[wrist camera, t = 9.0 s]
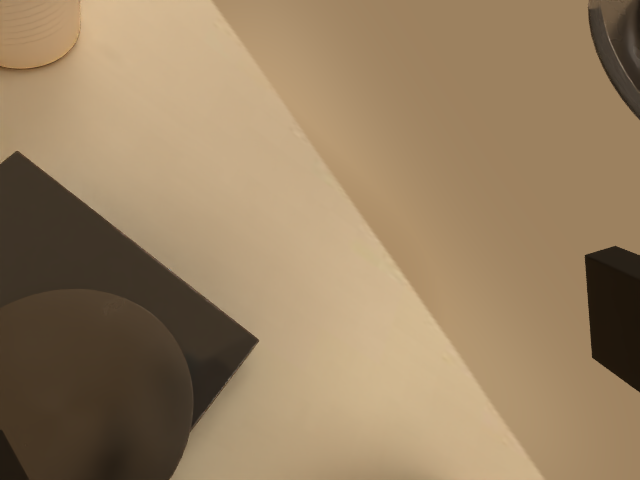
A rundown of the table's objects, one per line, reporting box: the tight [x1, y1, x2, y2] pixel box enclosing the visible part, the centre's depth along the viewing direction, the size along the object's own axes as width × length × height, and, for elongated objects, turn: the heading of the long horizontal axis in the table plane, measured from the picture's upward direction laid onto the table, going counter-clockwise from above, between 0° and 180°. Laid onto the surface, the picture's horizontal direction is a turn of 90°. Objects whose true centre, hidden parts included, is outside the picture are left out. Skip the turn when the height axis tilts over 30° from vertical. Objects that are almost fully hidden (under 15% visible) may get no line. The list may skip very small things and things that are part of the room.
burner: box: [0, 289, 194, 480], centre depth 19 cm, size 10×10×1 cm
